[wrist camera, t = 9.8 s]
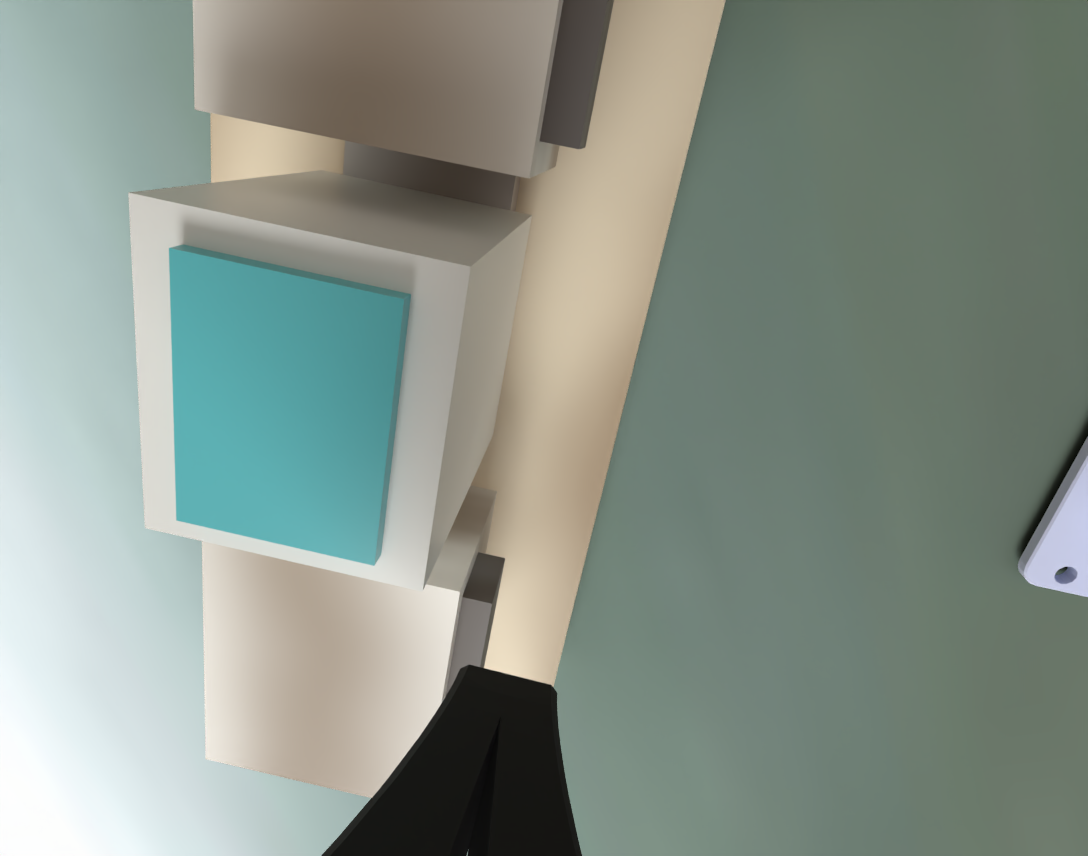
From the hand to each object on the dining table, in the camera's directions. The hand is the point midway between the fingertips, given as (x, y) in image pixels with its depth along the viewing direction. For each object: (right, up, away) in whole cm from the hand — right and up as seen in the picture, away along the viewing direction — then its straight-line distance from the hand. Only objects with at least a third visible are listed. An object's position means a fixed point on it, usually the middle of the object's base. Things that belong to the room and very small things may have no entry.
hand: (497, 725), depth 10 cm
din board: (-2, +8, +7) cm, 11 cm away
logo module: (-2, +7, +5) cm, 9 cm away
